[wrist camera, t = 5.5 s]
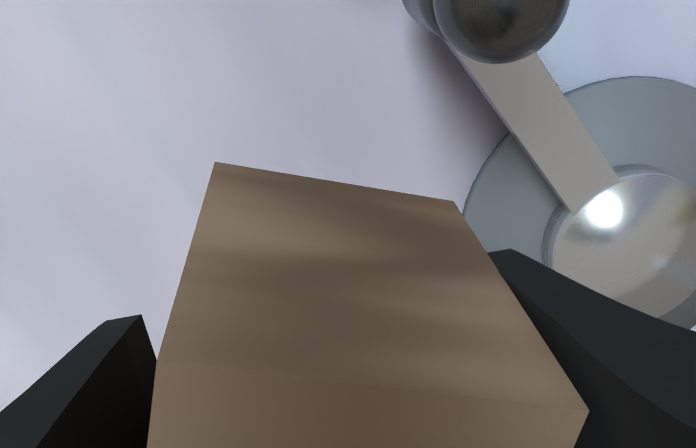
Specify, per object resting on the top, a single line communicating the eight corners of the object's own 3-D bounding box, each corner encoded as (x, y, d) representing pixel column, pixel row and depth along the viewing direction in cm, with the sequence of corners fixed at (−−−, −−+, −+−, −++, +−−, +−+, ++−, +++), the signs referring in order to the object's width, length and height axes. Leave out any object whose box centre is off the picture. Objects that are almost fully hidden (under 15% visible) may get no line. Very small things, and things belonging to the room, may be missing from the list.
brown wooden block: (453, 200, 12) (589, 410, 7) (398, 391, 14) (471, 680, 9) (214, 161, 12) (157, 362, 6) (187, 367, 13) (122, 667, 8)
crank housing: (673, 3, 19) (683, 5, 18) (802, 241, 22) (813, 247, 22) (174, 387, 22) (172, 396, 22) (356, 536, 26) (358, 547, 25)
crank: (720, 244, 21) (893, 365, 15) (590, 333, 22) (705, 480, 16) (489, -132, 16) (612, -172, 10) (333, 3, 17) (362, 40, 11)
